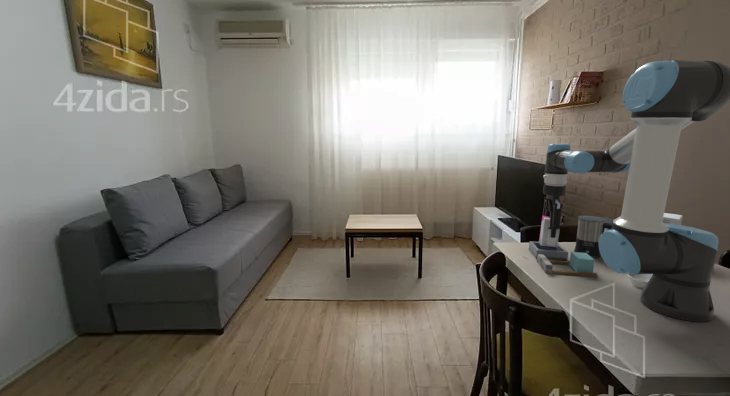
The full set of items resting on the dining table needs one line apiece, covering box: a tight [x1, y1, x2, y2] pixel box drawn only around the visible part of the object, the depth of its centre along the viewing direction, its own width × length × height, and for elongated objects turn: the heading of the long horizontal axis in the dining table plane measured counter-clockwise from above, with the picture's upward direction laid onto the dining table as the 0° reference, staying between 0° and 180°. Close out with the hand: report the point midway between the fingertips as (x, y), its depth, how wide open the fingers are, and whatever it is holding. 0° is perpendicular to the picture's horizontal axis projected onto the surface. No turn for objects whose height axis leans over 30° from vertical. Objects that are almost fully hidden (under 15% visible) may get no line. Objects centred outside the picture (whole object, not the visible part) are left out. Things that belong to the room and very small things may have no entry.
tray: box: [528, 240, 569, 261], centre depth 136 cm, size 11×11×4 cm
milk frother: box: [573, 215, 613, 258], centre depth 139 cm, size 14×16×15 cm
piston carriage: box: [568, 251, 596, 273], centre depth 121 cm, size 7×5×5 cm
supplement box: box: [538, 215, 562, 249], centre depth 135 cm, size 6×6×12 cm
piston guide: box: [536, 254, 598, 278], centre depth 123 cm, size 11×16×3 cm
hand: (548, 242), depth 136 cm, fingers closed on supplement box, 6 cm apart
